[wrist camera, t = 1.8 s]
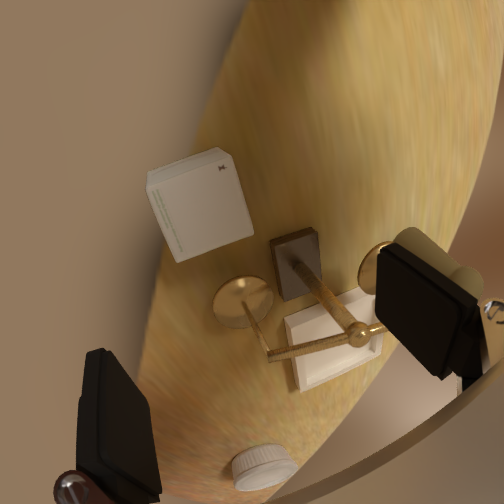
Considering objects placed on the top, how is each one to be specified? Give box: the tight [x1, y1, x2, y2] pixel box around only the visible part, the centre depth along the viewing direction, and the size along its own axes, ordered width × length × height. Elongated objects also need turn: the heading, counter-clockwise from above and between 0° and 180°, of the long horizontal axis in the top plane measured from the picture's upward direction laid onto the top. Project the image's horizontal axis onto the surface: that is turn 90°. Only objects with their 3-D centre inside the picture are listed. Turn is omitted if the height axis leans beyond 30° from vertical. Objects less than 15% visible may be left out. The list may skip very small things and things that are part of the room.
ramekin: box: [232, 444, 298, 491], centre depth 43 cm, size 11×11×5 cm
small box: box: [145, 147, 254, 263], centre depth 21 cm, size 6×6×5 cm
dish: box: [284, 287, 384, 393], centre depth 34 cm, size 12×12×2 cm
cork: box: [393, 227, 484, 301], centre depth 28 cm, size 6×6×11 cm
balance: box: [212, 227, 394, 363], centre depth 23 cm, size 6×17×12 cm, turn 102°
